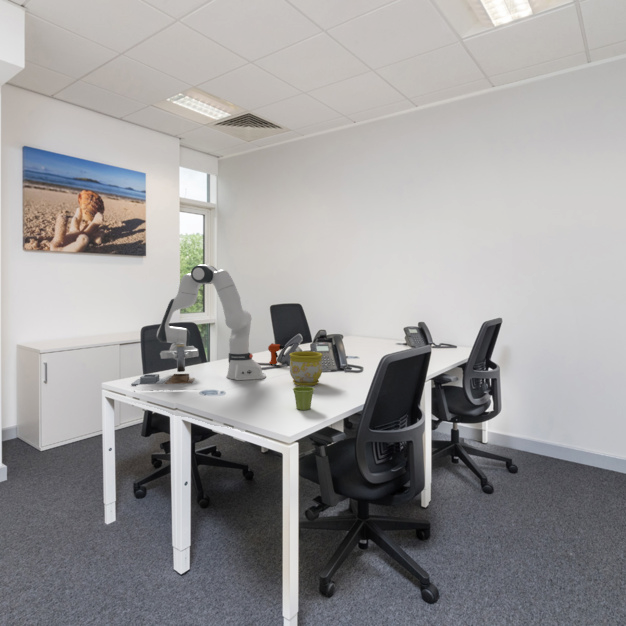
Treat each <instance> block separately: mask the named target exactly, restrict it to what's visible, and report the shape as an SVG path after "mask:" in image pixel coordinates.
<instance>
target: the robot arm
mask: <svg viewBox="0 0 626 626" xmlns="http://www.w3.org/2000/svg"><path fill="white" fill-rule="evenodd" d="M211 284H212V285H213V286H214V288H215V290H216V293H217V295H218V297H219V301H220V302H221V305H222V310H223V314H224V317H225V319H224V321H225V326H227V328H229V329H230V330H231V332H230V337H229V340H228V341H229V343H228V345H229V346H228V347H229V350H228V352H229V353H228V355H227V357H228V358H227V359H228V368H227V369H228V370H227V374H226V378H227V379H230V380H235V381H247V380H249V381H250V380H262V379H265V378H266V377H267V376H266V373H264V372H263V370H262V369H263V368H262V366H261V364H259V363H258V362H256V361H255V360H254V359H253V357H254V356H253V354H252V353H251V352H249V351H250V350H249V349H250V347H249V340H250V332H251V324H252V323H251V322H252V314H250V312H249V311H247V310H246V309H243V307H242V306H243V305H242V301H241V296H240V294H239V291H238V289H237V286H236V284H235V282H234V280H233V277H232V276H231V275H230V273H229V272H228V271H227V270H225V269H219V270H217V268H216V267H214V266H212V265H208V264H197V265H195V266H193V267H192V269H191V273H185V274H183V276H182V277H181V280H180V283H179V286H178V291H177V294H176V295H175V297H174V298H172V299H170V301H169V302H168V305H167V308H166V310H165V313H164V315H163V318H162V321H161V323H160V325H159V327H158V329H157V332H156V339H157V340H158V341H159V343H165V344H166V343H170V344H171V345H170V347H169V349H168V350H161V351H160V353H159V355H160V359H163V360H164V359H165V360H166V359H173V360H176V361H177V347H176V344H178V343H184V354H185V359H190V358H196V357H199V355H200V354H199V351H200V350H199V349H198V348H196V347H195V346H194V345H190V341H191V333H190V330H189V329H188V328H185V327H180V326H172V325H171V326H170V321H171V319H172V316H173V314H174V313H175V312H176V311H178V310H182V309H186V308H190V307H192V306H194V305H195V304H196V303H197V299H198V295H199V294H198V293H199V289H200V287H201V286H202V285H211Z"/></svg>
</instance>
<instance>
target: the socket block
mask: <svg viewBox="0 0 626 626" xmlns="http://www.w3.org/2000/svg"><path fill="white" fill-rule="evenodd" d="M195 379H196V377H190V373H173V374H172V376H171V377H169V379H167V380H166V381H165V382H164V385H177V384H179V385H180V384H192V383H194V380H195Z"/></svg>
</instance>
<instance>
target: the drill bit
mask: <svg viewBox="0 0 626 626" xmlns="http://www.w3.org/2000/svg"><path fill="white" fill-rule="evenodd" d="M176 347H177V360H176V368H177V369H176V370H177V373H181V372H182V373H183V372H185V371H186V364H185V363H186V362H185V361H186V360H185V354H184V343H178V344H176Z"/></svg>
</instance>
